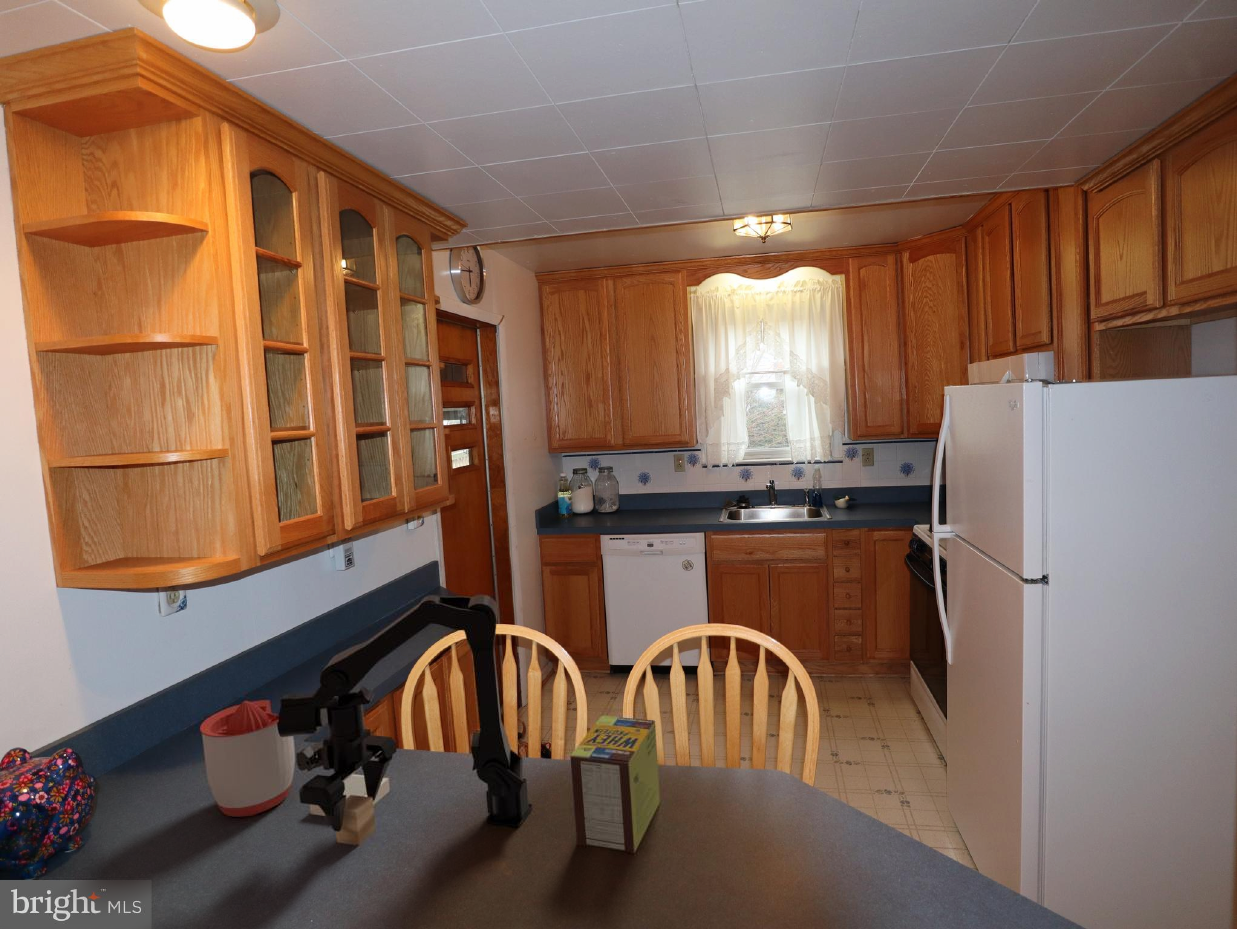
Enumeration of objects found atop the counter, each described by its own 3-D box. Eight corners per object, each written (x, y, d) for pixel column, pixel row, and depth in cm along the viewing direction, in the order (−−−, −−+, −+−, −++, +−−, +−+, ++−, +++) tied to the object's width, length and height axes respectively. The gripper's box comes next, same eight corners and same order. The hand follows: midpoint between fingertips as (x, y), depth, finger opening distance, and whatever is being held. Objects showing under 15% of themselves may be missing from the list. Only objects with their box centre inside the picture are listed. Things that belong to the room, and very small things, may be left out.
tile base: (389, 790, 137) (388, 777, 137) (356, 820, 128) (355, 806, 128) (346, 785, 140) (345, 772, 140) (310, 814, 131) (309, 800, 131)
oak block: (375, 830, 125) (372, 797, 124) (359, 845, 120) (356, 811, 120) (354, 826, 126) (350, 794, 126) (337, 842, 122) (333, 809, 121)
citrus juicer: (325, 782, 142) (315, 686, 140) (247, 832, 126) (235, 724, 124) (270, 770, 148) (260, 677, 147) (190, 815, 133) (178, 712, 131)
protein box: (660, 802, 128) (656, 719, 127) (635, 854, 114) (629, 762, 112) (606, 794, 132) (601, 714, 130) (574, 845, 117) (568, 755, 116)
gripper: (343, 702, 133) (350, 782, 134) (267, 750, 115) (277, 842, 116) (394, 706, 130) (401, 788, 131) (324, 757, 112) (333, 850, 113)
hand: (355, 815), depth 123 cm, fingers open, 9 cm apart
